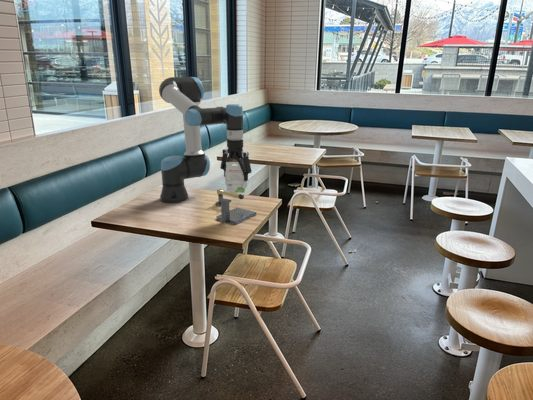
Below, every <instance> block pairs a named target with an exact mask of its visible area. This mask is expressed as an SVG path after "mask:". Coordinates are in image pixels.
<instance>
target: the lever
mask: <svg viewBox="0 0 533 400" xmlns="http://www.w3.org/2000/svg"><path fill="white" fill-rule="evenodd" d="M216 194H217V196H218V195H223V196H228V197H231V198H236V199H240V200H244V198H245V195H244V194H243V193H238V192H227V190H224V189H222V188H218V189H217V190H216Z"/></svg>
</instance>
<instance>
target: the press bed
mask: <svg viewBox="0 0 533 400" xmlns="http://www.w3.org/2000/svg"><path fill="white" fill-rule="evenodd" d="M219 202H221V206H220V208H221V210H220V212H221V214H219V215H216V220H218V221H221V223H224V224H228V223H229V224H233V225H238V224H240V223H243V222H244V221H246V220H249V219H252V218H253V217H256V216H257V211H254V210H250V209H249V210H248V209H245V208H241V207H235V208H233V209H231V208H230V203H231V202H232V199H229V198H225V197H223V199H220V200H219ZM230 209H231V210H230Z"/></svg>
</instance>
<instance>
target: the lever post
mask: <svg viewBox="0 0 533 400" xmlns="http://www.w3.org/2000/svg"><path fill="white" fill-rule="evenodd" d="M217 196H218V201H216V202H215V203H214V205H215V207H216V206H217V207H221V202H219V200H220V199H223V198H224V195H218V194H217Z"/></svg>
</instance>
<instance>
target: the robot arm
mask: <svg viewBox="0 0 533 400" xmlns="http://www.w3.org/2000/svg"><path fill="white" fill-rule="evenodd" d="M158 91H159V92H158V93H159V96H160V97H161V99H162V100H163V101H164V102H166V103H168V104H170V105H172V106H173V107H174V108H175V109H177V111H179V113H181V114H182V121H183V131H184V141H185V152H184V153H183V156H182V155H171V156H166V157H165V158H163V159H162V160H161V162H160V170H161V171H160V172H161V182H162V184H161V185H162V187H161V192H160V195H159V196H160V197H159V200H160V202H162V203H165V204H177V203H178V204H179V203H183V202H185V201H188V199H189V193H188V191H187V188H186V186H185V180H189V179H194V178H201V177H205V176H207V175H208V173H209V172H210V167H211V162H210V158H209V156H208V155H206V153H205V151H203V148H202V136H201V127H202V126H210V125H211V126H212V125H226V138H227V139H226V147H227V148H225V149H222V158H221V162H220V167H219V168H220V170H223V178H224V183H225V186H226V162H233V160H236V162H239V165H240V167H241V169H242V172H243V174H242V188H245V189H246V188H247V187H248V180H249V174H251V173H252V167H251V163H250V158H249V155H250V153H249V151H244V150H243V148H244V112H243V108H244V107H243V106H242V104H240V103H239V104H238V103H228V104H226V106H216V107H207V108H205V107H203V108H202V107H200V106H199V105H200V104H201V100H202V99H203V98H204V96H205V88H204V85H203V83H202V81H201V79H199V78H198V77H196V76H195V77H194V76H172V77H170V76H169V77H168V78H165V79H164V80H162V81H161V83H160V84H159V89H158ZM242 162H243V163H242Z"/></svg>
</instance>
